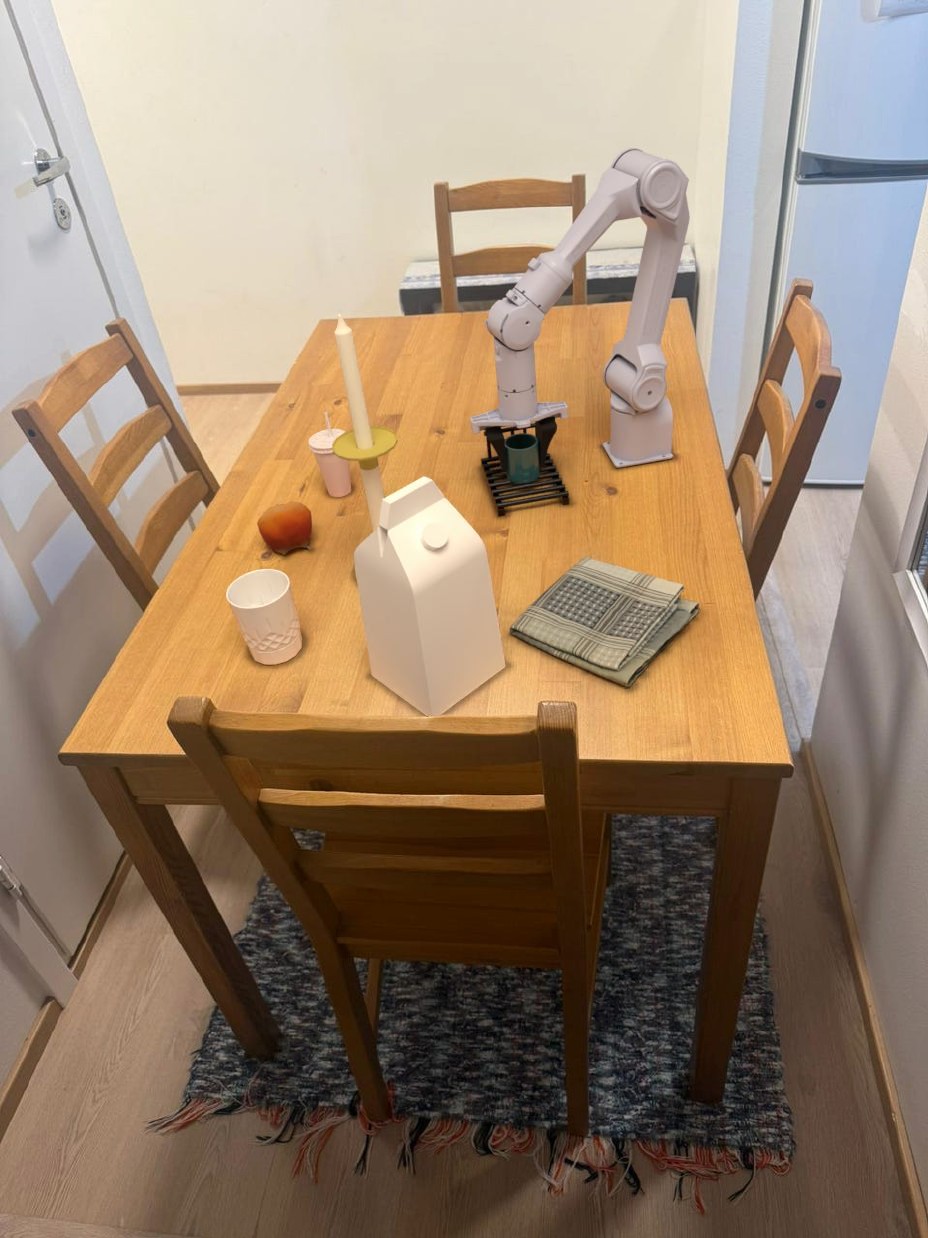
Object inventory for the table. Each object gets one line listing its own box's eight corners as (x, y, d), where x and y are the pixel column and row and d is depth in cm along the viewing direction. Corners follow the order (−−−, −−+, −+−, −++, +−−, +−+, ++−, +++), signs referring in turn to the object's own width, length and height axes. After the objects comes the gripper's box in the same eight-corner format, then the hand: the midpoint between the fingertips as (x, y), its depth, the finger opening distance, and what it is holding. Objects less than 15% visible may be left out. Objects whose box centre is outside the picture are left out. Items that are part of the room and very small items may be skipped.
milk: (443, 627, 114) (415, 449, 98) (505, 666, 107) (487, 482, 91) (371, 675, 108) (329, 496, 92) (432, 720, 101) (398, 535, 85)
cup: (535, 463, 140) (534, 430, 136) (543, 480, 136) (541, 446, 132) (503, 469, 140) (500, 436, 136) (509, 485, 135) (507, 452, 132)
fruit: (276, 563, 127) (255, 511, 125) (268, 563, 134) (249, 514, 133) (328, 544, 129) (308, 492, 128) (318, 545, 137) (299, 496, 135)
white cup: (250, 632, 118) (230, 573, 111) (308, 624, 117) (291, 564, 111) (244, 672, 111) (222, 612, 105) (305, 664, 111) (287, 603, 105)
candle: (435, 554, 127) (396, 295, 103) (404, 596, 120) (354, 329, 96) (375, 544, 131) (324, 291, 107) (341, 583, 124) (279, 323, 100)
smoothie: (352, 502, 140) (335, 422, 131) (315, 501, 142) (295, 422, 133) (364, 480, 145) (348, 403, 136) (327, 480, 147) (309, 403, 138)
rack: (546, 456, 145) (545, 419, 141) (569, 504, 133) (568, 465, 129) (481, 468, 144) (477, 431, 140) (498, 516, 133) (494, 477, 129)
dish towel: (504, 636, 111) (503, 617, 109) (583, 565, 121) (583, 546, 119) (631, 694, 101) (632, 674, 99) (706, 611, 111) (708, 591, 109)
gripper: (472, 404, 124) (480, 486, 133) (572, 387, 125) (574, 470, 134) (464, 383, 130) (473, 463, 139) (560, 367, 131) (562, 448, 139)
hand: (522, 465), depth 137 cm, fingers closed on cup, 5 cm apart
